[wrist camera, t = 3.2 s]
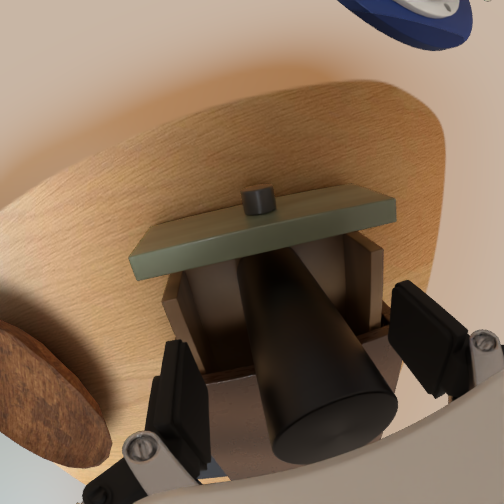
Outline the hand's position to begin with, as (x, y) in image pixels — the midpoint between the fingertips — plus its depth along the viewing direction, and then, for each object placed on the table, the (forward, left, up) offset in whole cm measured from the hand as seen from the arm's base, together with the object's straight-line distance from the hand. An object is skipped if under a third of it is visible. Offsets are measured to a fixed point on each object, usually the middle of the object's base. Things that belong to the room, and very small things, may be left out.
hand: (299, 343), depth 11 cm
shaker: (0, 0, -7) cm, 7 cm away
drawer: (0, +2, -8) cm, 8 cm away
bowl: (+25, +7, -9) cm, 28 cm away
